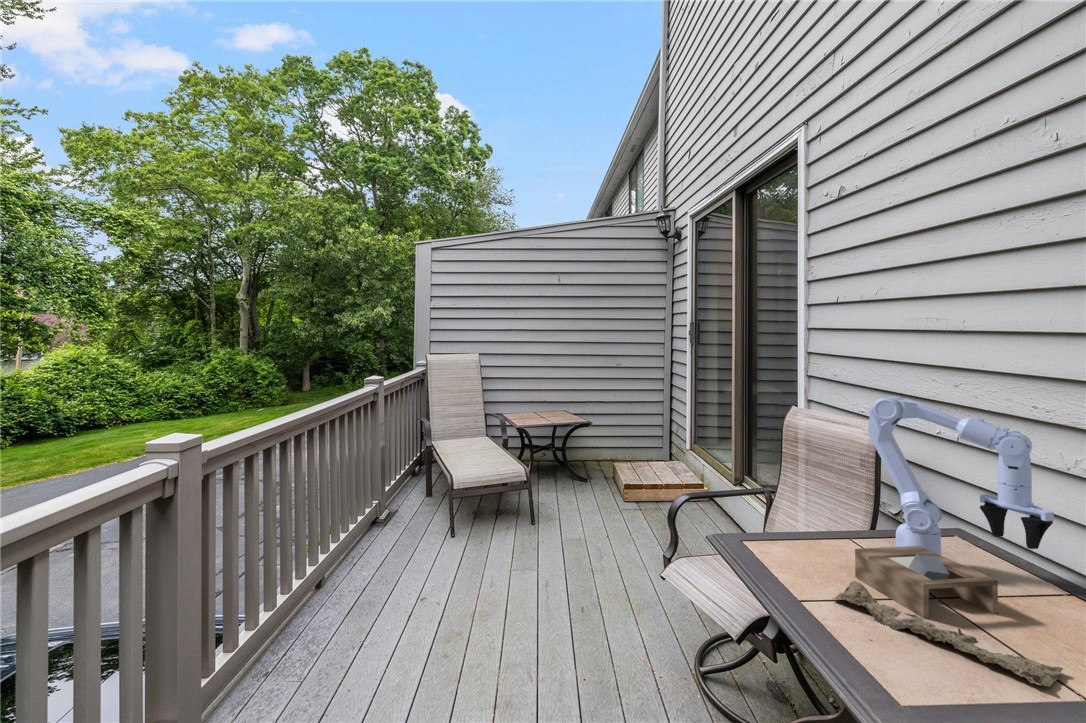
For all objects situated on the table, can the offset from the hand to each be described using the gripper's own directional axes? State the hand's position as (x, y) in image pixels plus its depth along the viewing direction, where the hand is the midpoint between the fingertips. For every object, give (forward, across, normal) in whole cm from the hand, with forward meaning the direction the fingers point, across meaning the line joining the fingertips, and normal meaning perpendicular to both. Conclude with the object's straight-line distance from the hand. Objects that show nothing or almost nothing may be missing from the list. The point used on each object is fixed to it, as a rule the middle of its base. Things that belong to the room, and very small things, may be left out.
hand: (1014, 542), depth 113 cm
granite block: (+6, -1, +25) cm, 25 cm away
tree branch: (+11, -16, +37) cm, 42 cm away
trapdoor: (+6, +1, +25) cm, 26 cm away
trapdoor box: (+10, -1, +25) cm, 27 cm away
